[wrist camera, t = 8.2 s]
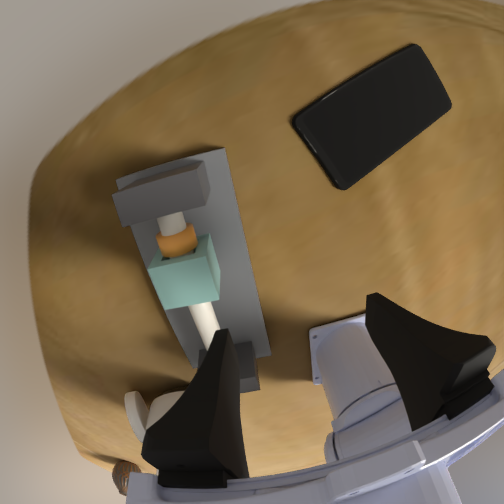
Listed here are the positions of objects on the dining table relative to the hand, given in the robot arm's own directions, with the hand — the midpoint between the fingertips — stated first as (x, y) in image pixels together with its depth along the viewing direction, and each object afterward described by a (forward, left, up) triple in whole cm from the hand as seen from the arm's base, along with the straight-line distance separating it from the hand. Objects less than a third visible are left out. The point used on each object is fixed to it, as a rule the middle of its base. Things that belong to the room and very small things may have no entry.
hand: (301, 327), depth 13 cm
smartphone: (+10, -11, -10) cm, 18 cm away
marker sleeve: (+2, +6, -7) cm, 10 cm away
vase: (-45, +39, -10) cm, 60 cm away
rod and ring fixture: (-1, +6, -9) cm, 11 cm away
